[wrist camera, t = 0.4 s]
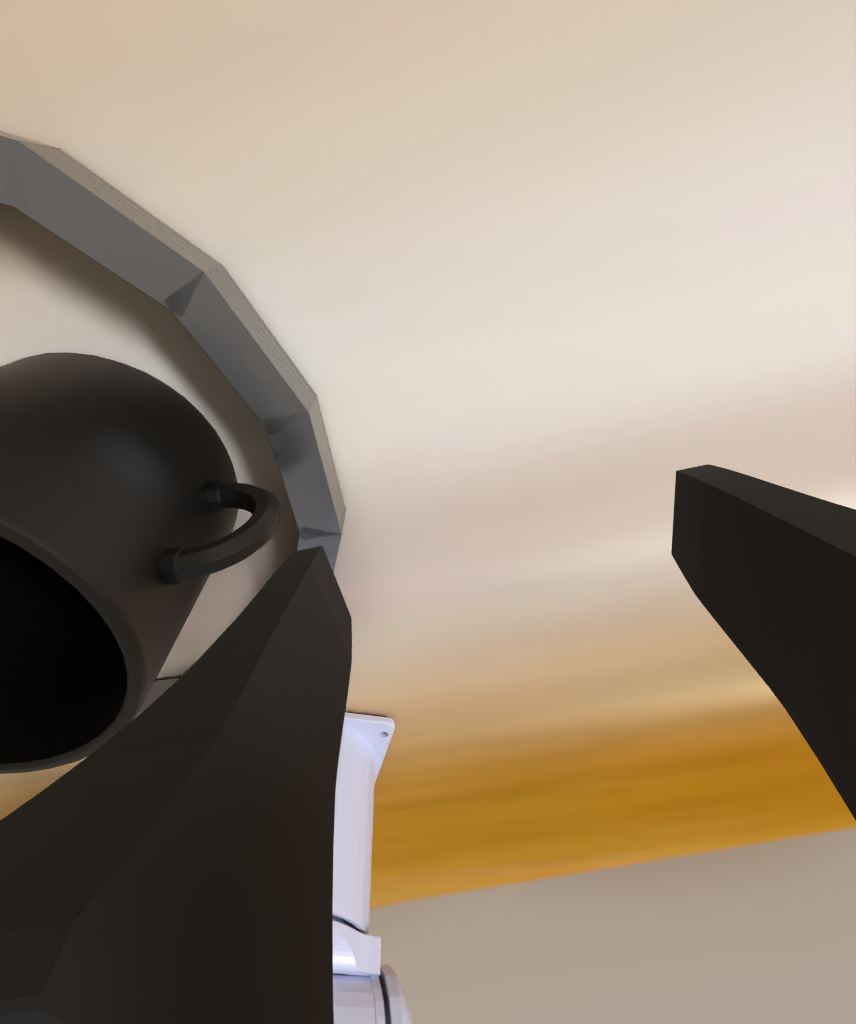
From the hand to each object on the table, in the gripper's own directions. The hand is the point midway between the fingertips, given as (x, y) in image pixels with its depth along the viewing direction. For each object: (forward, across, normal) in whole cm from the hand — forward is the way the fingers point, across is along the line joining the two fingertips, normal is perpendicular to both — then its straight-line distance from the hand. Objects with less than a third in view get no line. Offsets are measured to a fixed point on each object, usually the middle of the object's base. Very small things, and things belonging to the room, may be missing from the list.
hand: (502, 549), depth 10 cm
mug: (+10, +12, 0) cm, 15 cm away
